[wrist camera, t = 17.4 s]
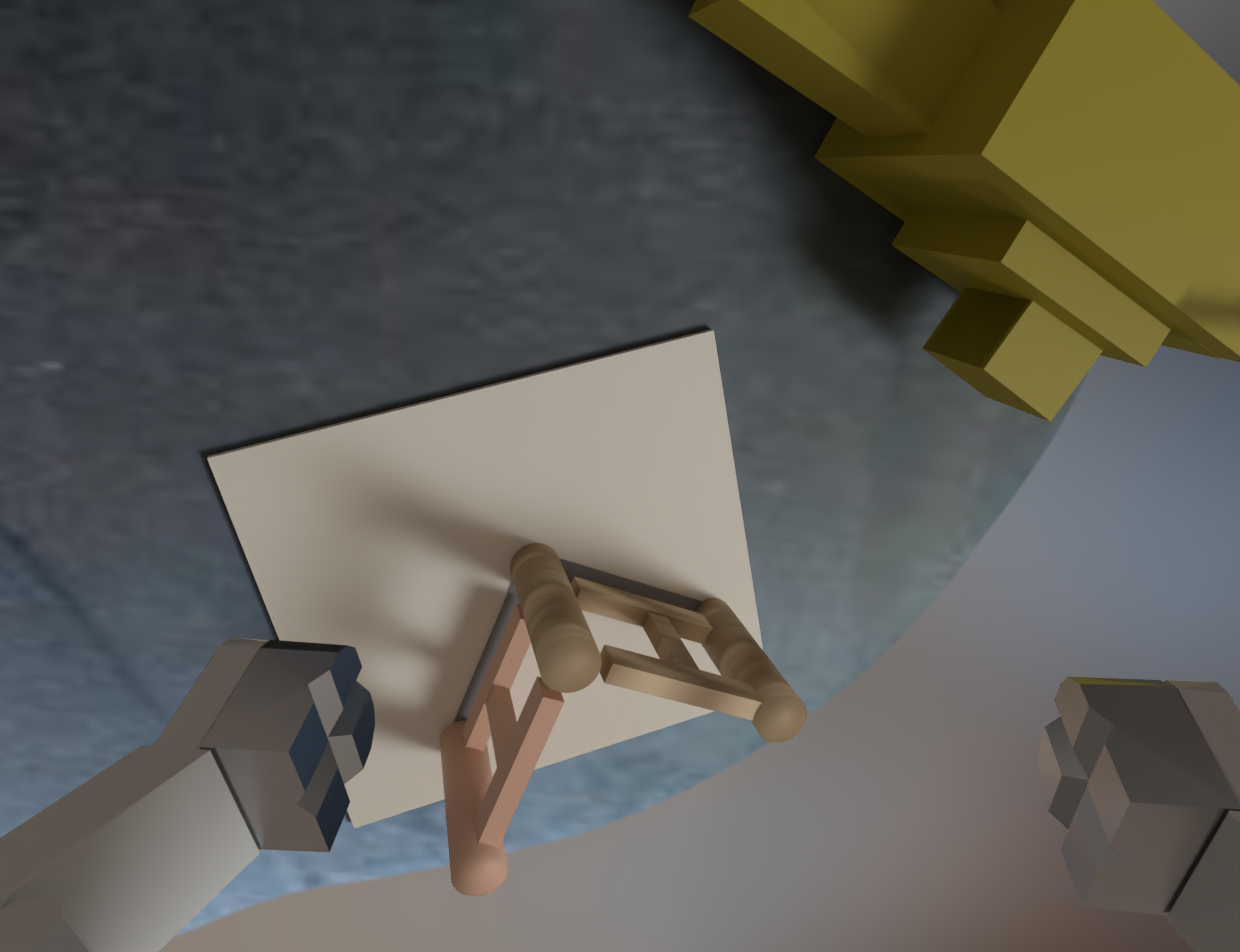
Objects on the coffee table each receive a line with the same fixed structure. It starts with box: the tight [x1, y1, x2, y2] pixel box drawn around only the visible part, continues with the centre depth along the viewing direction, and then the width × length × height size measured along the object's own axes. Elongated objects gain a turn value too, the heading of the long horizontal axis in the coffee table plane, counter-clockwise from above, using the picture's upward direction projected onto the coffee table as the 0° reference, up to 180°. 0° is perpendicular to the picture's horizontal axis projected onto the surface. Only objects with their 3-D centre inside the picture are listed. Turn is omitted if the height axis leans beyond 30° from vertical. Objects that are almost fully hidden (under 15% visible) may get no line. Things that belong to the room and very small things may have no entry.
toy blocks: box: [688, 0, 1240, 422], centre depth 46 cm, size 35×16×16 cm
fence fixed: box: [510, 543, 807, 742], centre depth 52 cm, size 16×3×12 cm, turn 67°
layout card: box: [207, 329, 763, 828], centre depth 56 cm, size 30×27×1 cm
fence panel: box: [440, 603, 564, 896], centre depth 51 cm, size 12×3×12 cm, turn 157°
